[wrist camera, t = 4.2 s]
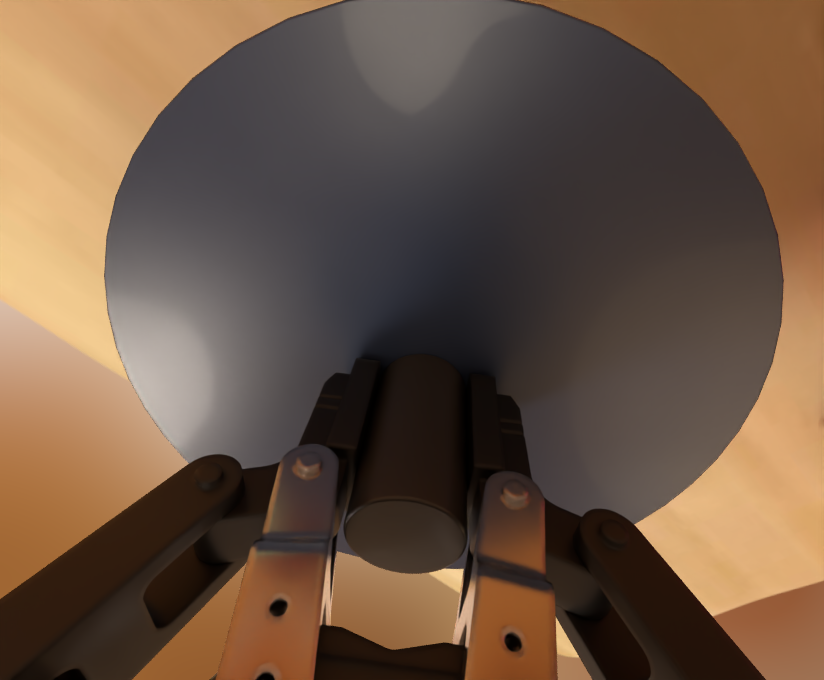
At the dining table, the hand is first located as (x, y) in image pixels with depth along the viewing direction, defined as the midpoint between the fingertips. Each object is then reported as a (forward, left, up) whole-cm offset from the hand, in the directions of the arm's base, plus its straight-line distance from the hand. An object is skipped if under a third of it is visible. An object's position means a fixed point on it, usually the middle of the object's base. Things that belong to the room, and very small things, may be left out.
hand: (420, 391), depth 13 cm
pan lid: (0, 0, -1) cm, 1 cm away
